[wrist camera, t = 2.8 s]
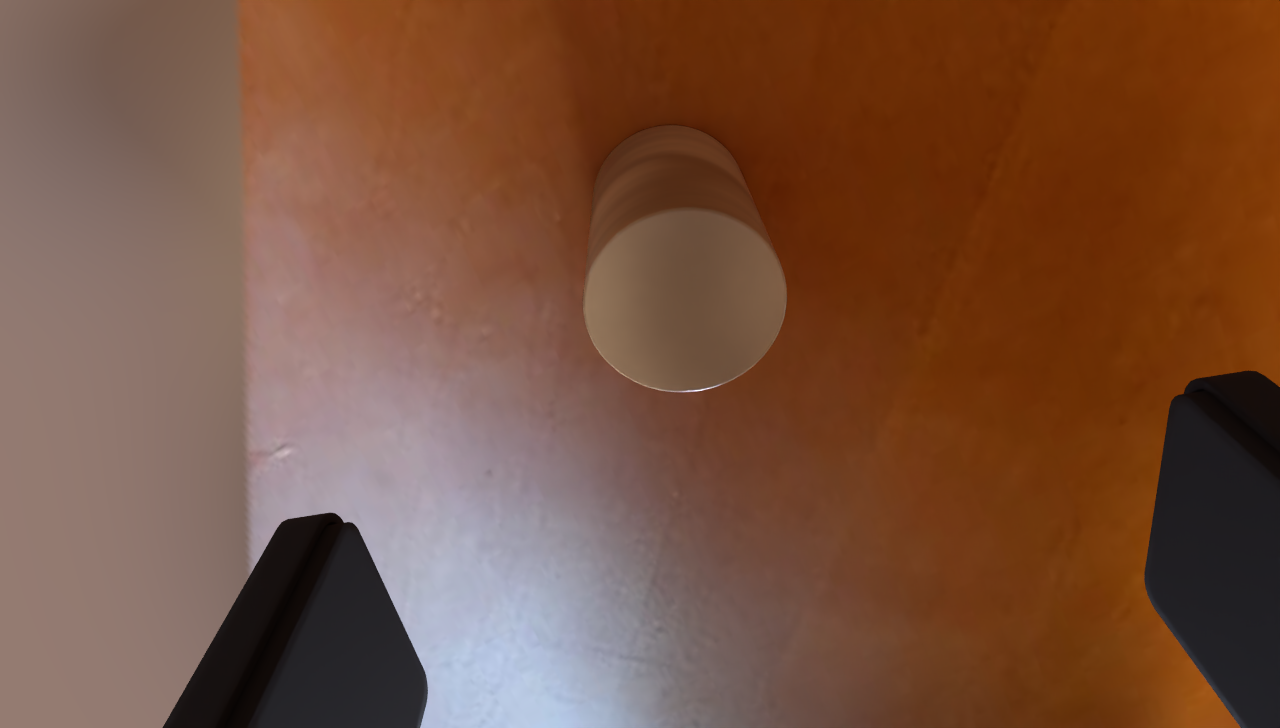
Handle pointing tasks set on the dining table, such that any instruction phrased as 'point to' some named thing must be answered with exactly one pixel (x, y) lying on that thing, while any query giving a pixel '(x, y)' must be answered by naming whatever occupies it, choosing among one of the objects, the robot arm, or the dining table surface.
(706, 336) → the stopper
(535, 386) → the dining table surface
